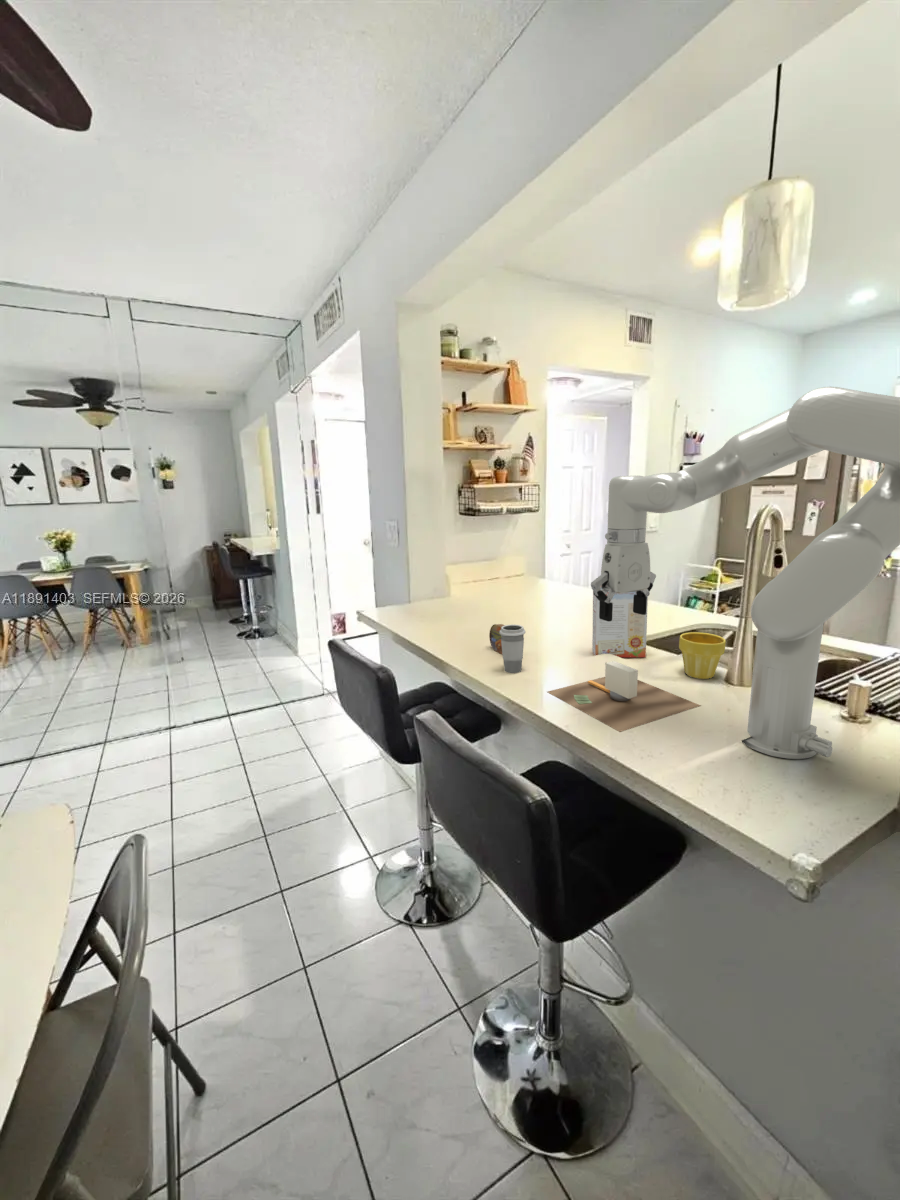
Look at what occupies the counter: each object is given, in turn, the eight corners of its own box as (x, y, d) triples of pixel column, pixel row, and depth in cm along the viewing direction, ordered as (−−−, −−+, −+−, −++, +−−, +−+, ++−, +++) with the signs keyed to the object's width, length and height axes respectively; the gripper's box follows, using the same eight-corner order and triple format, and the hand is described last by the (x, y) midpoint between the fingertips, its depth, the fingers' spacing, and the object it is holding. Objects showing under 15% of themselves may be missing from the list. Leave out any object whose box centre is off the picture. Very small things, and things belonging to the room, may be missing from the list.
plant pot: (724, 671, 129) (727, 634, 126) (720, 685, 120) (723, 646, 118) (681, 665, 134) (683, 629, 132) (673, 677, 126) (676, 640, 124)
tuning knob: (639, 700, 109) (641, 669, 108) (624, 704, 107) (625, 673, 106) (596, 680, 121) (597, 652, 120) (582, 684, 119) (582, 655, 118)
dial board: (700, 712, 107) (701, 705, 106) (619, 739, 97) (619, 731, 96) (620, 678, 127) (620, 672, 126) (546, 697, 117) (546, 691, 117)
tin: (488, 647, 156) (488, 621, 154) (497, 646, 157) (497, 620, 155) (514, 661, 142) (514, 633, 140) (524, 659, 144) (523, 631, 142)
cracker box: (640, 651, 146) (643, 581, 142) (646, 658, 140) (649, 585, 136) (591, 651, 148) (592, 582, 143) (594, 658, 142) (596, 586, 137)
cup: (510, 676, 131) (510, 632, 128) (494, 669, 136) (493, 627, 134) (531, 670, 135) (530, 627, 132) (514, 663, 140) (514, 622, 138)
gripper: (607, 541, 97) (604, 626, 101) (670, 535, 104) (665, 614, 108) (581, 538, 103) (579, 618, 107) (642, 532, 111) (638, 608, 114)
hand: (622, 616), depth 108 cm, fingers open, 9 cm apart
